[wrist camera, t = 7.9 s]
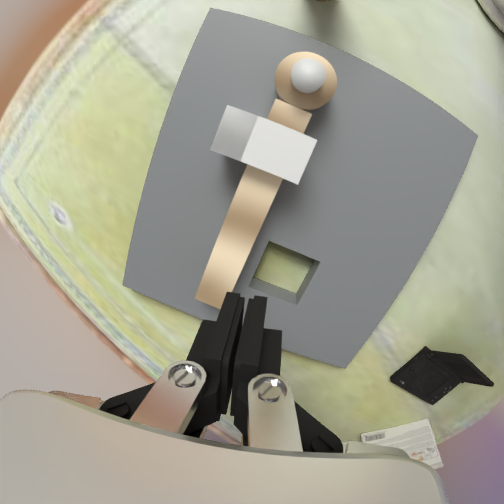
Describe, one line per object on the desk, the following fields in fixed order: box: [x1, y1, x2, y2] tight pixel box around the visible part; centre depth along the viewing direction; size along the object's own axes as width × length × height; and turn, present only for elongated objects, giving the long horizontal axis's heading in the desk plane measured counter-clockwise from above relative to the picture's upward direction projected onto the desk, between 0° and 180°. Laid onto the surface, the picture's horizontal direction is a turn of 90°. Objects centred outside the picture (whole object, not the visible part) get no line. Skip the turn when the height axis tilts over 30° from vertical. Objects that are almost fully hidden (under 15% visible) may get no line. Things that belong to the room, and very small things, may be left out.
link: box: [194, 52, 337, 309], centre depth 21 cm, size 20×4×2 cm, turn 158°
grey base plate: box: [123, 8, 478, 368], centre depth 22 cm, size 26×24×7 cm
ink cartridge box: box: [361, 418, 444, 470], centre depth 32 cm, size 2×11×10 cm, turn 101°
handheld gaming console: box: [390, 346, 494, 405], centre depth 29 cm, size 12×7×10 cm
